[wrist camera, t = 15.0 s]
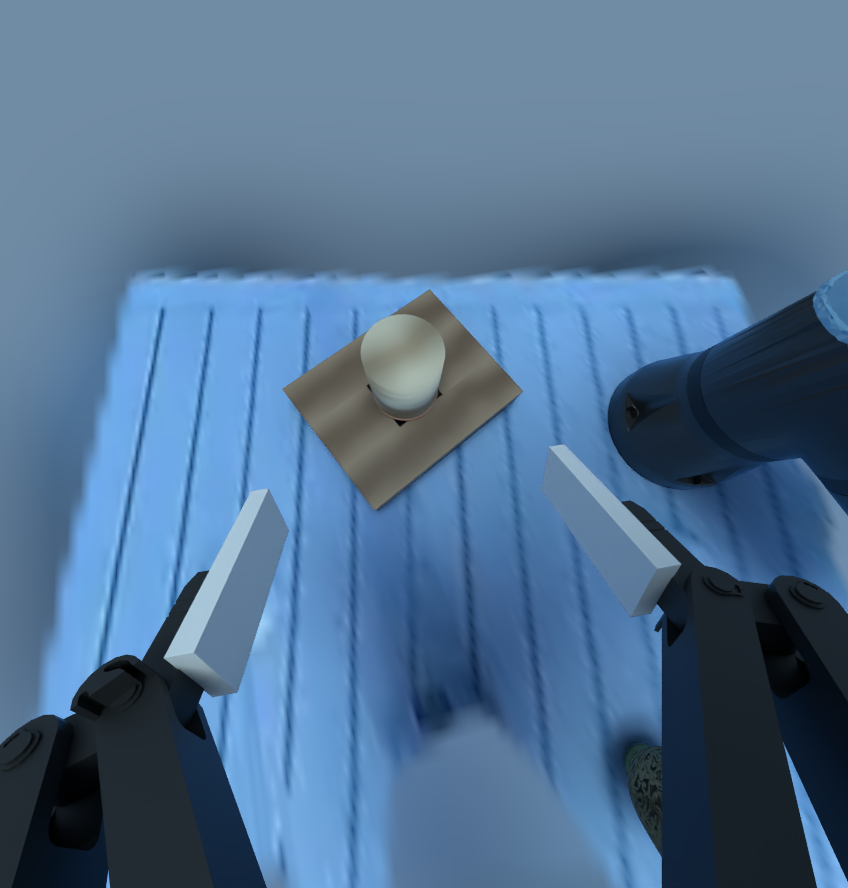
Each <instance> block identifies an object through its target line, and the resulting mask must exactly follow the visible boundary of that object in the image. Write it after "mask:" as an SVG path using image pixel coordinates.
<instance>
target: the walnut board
mask: <svg viewBox="0 0 848 888" xmlns="http://www.w3.org/2000/svg"><path fill="white" fill-rule="evenodd" d="M399 314H406V315H413V316H417V317H419V318H422V319H424V320H426V321H427V322H429V323H430V324H431V325H433V326H434V327H435V328H436V330H437V331H438V332H439V334H440V335H441V337H442V340H443V342H444V346H445V360H444V365H443V369H442V374H441V379H440V383H439V388H438V394H437V398H436V401H435V403H434V405H433V407H432V408H431V409H430V411H429V412H427V413H426V414H425V415H424V416H422V417H420V418H418V419H415V420H411V421H407V422H406V423H405V424H403V425H402V426H401V427H399V425H398V424H397V423H396V422H395V420H394V419H393V418H390V417H388V416H387V415H385V414H384V413H383V412H382V411H381V410H380V409H379V408H378V407H377V405H376V403H375V401H374V398H373V394H372V391H371V388H370V385H369V382H368V379H367V376H366V373H365V370H364V367H363V364H362V360H361V345H362V341H363V339H364V336H365V335H366V333H367V332H368V331H367V332H366V333H364V334H363V335H361V336H360V337H358V338H357V339H355V340H354V341H352V342H351V343H349V344H348V345H346V346H345V347H343V348H342V349H340V350H339V351H338V352H336V353H335V354H333V355H332V356H330V357H329V358H327V359H326V360H324V361H323V362H321V363H320V364H318V365H317V366H315V367H314V368H312V369H311V370H309V371H308V372H307V373H305V374H304V375H302V376H301V377H299V378H298V379H296V380H295V381H293V382H292V383H290V384H289V385H287V386H286V387H284V388H283V389H282V390H283V391H284V392H285V394H286V395H287V396H288V398H289V399H290V400H291V401H292V403H293V404H294V405H295V407H296V408H297V409H298V411H299V412H300V413H301V415H302V416H303V417H304V418H305V420H306V421H307V422H308V424H309V425H310V426H311V428H312V429H313V430H314V432H315V433H316V434H317V436H318V437H319V438H320V439H321V441H322V442H323V443H324V445H325V446H326V447H327V449H328V450H329V451H330V453H331V454H332V455H333V456H334V458H335V459H336V460H337V462H338V463H339V464H340V466H341V467H342V468H343V470H344V471H345V472H346V474H347V475H348V476H349V477H350V479H351V480H352V481H353V483H354V484H355V485H356V487H357V488H358V489H359V491H360V492H361V493H362V494H363V496H364V497H365V498H366V500H367V501H368V502H369V504H370V505H371V506H372V508H373V509H374V510H380V509H381V508H382V507H384V506H385V505H386V504H387V503H388V502H390V501H391V500H392V499H393V498H395V497H396V496H397V495H398V494H400V493H401V492H402V491H403V490H405V489H406V488H407V487H408V486H410V485H411V484H412V483H413V482H415V481H416V480H417V479H418V478H419V477H421V476H422V475H423V474H424V473H426V472H427V471H428V470H429V469H431V468H432V467H433V466H434V465H436V464H437V463H438V462H439V461H441V460H442V459H443V458H444V457H446V456H447V455H448V454H449V453H450V452H452V451H453V450H454V449H455V448H457V447H458V446H459V445H460V444H462V443H463V442H464V441H465V440H467V439H468V438H469V437H470V436H472V435H473V434H474V433H475V432H477V431H478V430H479V429H480V428H481V427H483V426H484V425H485V424H486V423H488V422H489V421H490V420H491V419H493V418H494V417H495V416H496V415H498V414H499V413H500V412H501V411H503V410H504V409H505V408H506V407H508V406H509V405H510V404H511V403H512V402H513V401H514V400H515V399H516V398H517V397H518V396H519V395H520V394H521V393H522V392H523V391H522V389H521V388H520V387H519V386H518V385H517V384H516V383H515V382H514V381H513V380H512V379H511V377H510V376H509V375H508V374H507V373H506V372H505V371H504V370H503V369H502V368H501V367H500V365H499V364H498V363H497V362H496V361H495V360H494V359H493V358H492V357H491V356H490V355H489V353H488V352H487V351H486V350H485V349H484V348H483V347H482V346H481V345H480V344H479V343H478V341H477V340H476V339H475V338H474V337H473V336H472V335H471V334H470V333H469V332H468V331H467V329H466V328H465V327H464V326H463V325H462V324H461V323H460V322H459V321H458V320H457V319H456V318H455V316H454V315H453V314H452V313H451V312H450V311H449V310H448V309H447V308H446V307H445V306H444V304H443V303H442V302H441V301H440V300H439V299H438V298H437V297H436V296H435V295H434V294H433V292H432V291H431V290H430V289H429V290H428V291H426V292H425V293H423V294H422V295H420V296H419V297H417V298H416V299H414V300H413V301H411V302H410V303H408V304H407V305H405V306H404V307H403V308H401V309H400V310H398V311H397V312H395V313H394V314H392V315H399ZM392 315H391V316H392Z"/></svg>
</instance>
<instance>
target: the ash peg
mask: <svg viewBox="0 0 848 888" xmlns="http://www.w3.org/2000/svg"><path fill="white" fill-rule="evenodd" d="M361 360H362V364H363V367H364V370H365V373H366V376H367V379H368V382H369V385H370V388H371V391H372V394H373V398H374V401H375V403H376V405H377V407H378V408H379V409H380V410H381V411H382V412H383V413H384V414H385V415H387V416H388V417H390V418H393V419H396V420H400V421H411V420H415V419H418V418H420V417H422V416H424V415H425V414H426V413H427V412H429V411H430V409H431V408H432V407H433V405H434V403H435V401H436V398H437V394H438V388H439V383H440V379H441V374H442V369H443V365H444V360H445V346H444V342H443V340H442V337H441V335H440V334H439V332H438V331H437V330H436V328H435V327H434V326H433V325H431V324H430V323H429V322H427V321H426V320H424V319H422V318H419V317H417V316H413V315H406V314H399V315H392V316H389V317H386V318H384V319H381V320H380V321H378V322H377V323H375V324H374V325H373V326H372V327H371V328H370V329H369V330H368V332H367V333H366V335H365V336H364V339H363V341H362V345H361Z"/></svg>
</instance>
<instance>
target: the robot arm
mask: <svg viewBox="0 0 848 888" xmlns="http://www.w3.org/2000/svg"><path fill="white" fill-rule="evenodd" d="M609 426H610V431H611V435H612V438H613V440H614V443H615V445H616V447H617V449H618V450H619V452H620V454H621V455H622V457H623V458H624V459H625V461H626V462H627V463H628V464H629V465H630V466H631V467H632V468H633V469H634V470H635V471H637V472H638V473H639V474H640V475H642V476H643V477H645V478H646V479H648V480H650V481H652V482H654V483H656V484H659V485H662V486H665V487H669V488H675V489H691V488H703V487H710V486H714V485H718V484H721V483H723V482H725V481H728V480H730V479H732V478H734V477H736V476H738V475H741V474H743V473H745V472H747V471H749V470H751V469H754V468H756V467H758V466H760V465H762V464H764V463H766V462H772V461H779V460H786V459H796V458H801V459H803V461H804V462H805V463H806V464H807V465H808V466H809V468H810V469H811V470H812V471H813V472H814V474H815V475H816V476H817V477H818V478H819V480H820V481H821V482H822V483H823V485H824V486H825V487H826V489H827V490H828V491H829V493H830V494H831V495H832V496H833V498H834V499H835V500H836V501H837V503H838V504H839V505H840V506H841V508H842V509H843V510H844V511H845V513H846V514H847V515H848V270H847V271H845V272H842V273H840V274H838V275H836V276H834V277H833V278H831V279H829V280H828V281H826V282H825V283H823V284H822V285H821V286H820V287H819V288H818V290H817V291H815V292H814V293H812V294H810V295H809V296H806V297H804V298H802V299H801V300H799V301H797V302H795V303H793V304H791V305H789V306H787V307H785V308H784V309H782V310H780V311H778V312H776V313H774V314H772V315H770V316H768V317H767V318H765V319H763V320H761V321H759V322H757V323H755V324H753V325H752V326H750V327H748V328H746V329H744V330H742V331H740V332H738V333H737V334H735V335H733V336H731V337H729V338H727V339H725V340H723V341H722V342H720V343H718V344H716V345H715V346H713V347H711V348H709V349H707V350H705V351H701V352H697V353H692V354H688V355H683V356H679V357H674V358H669V359H665V360H660V361H656V362H654V363H651V364H649V365H646V366H644V367H643V368H641V369H639V370H638V371H636V372H634V373H633V374H631V375H630V376H628V377H627V378H626V379H624V380H623V381H622V382H621V383H620V385H619V386H618V387H617V389H616V390H615V392H614V394H613V396H612V399H611V402H610V407H609ZM542 491H543V493H544V494H545V496H546V497H547V499H548V500H549V501H550V503H551V504H552V506H553V507H554V509H555V510H556V512H557V513H558V514H559V516H560V517H561V519H562V520H563V522H564V523H565V524H566V526H567V527H568V529H569V530H570V532H571V533H572V535H573V536H574V537H575V539H576V540H577V542H578V543H579V545H580V546H581V548H582V549H583V550H584V552H585V553H586V555H587V556H588V558H589V559H590V561H591V562H592V563H593V565H594V566H595V568H596V569H597V571H598V572H599V573H600V575H601V576H602V578H603V579H604V581H605V582H606V584H607V585H608V586H609V588H610V589H611V591H612V592H613V594H614V595H615V597H616V598H617V599H618V601H619V602H620V604H621V605H622V607H623V608H624V610H625V611H626V612H627V614H628V615H629V617H635V616H640V615H645V614H651V612H652V611H653V609H654V608H655V606H656V604H658V606H659V607H660V608H661V609H662V611H663V612H664V614H663V615H662V617H661V618H660V620H659V621H658V623H657V624H656V627H655V630H654V631H657V632H659V630H660V629H661V628H662V888H817V885H816V881H815V877H814V873H813V868H812V864H811V860H810V855H809V851H808V847H807V843H806V838H805V834H804V830H803V825H802V821H801V817H800V813H799V808H798V804H797V800H796V795H795V791H794V787H793V783H792V778H791V774H790V770H789V765H788V761H787V757H786V752H785V748H784V745H785V747H786V749H787V751H788V753H789V755H790V758H791V760H792V762H793V764H794V766H795V768H796V771H797V773H798V775H799V777H800V779H801V781H802V784H803V786H804V788H805V790H806V792H807V794H808V797H809V799H810V801H811V803H812V805H813V807H814V810H815V812H816V814H817V816H818V818H819V820H820V823H821V825H822V827H823V829H824V831H825V833H826V836H827V838H828V840H829V842H830V844H831V846H832V849H833V851H834V853H835V855H836V857H837V859H838V862H839V864H840V866H841V868H842V870H843V872H844V875H845V877H846V879H847V881H848V614H847V613H846V611H845V610H844V609H843V608H842V606H841V605H840V604H839V603H838V602H837V601H836V600H835V599H834V598H833V597H832V596H831V595H830V594H829V593H828V592H826V591H825V590H823V589H822V588H820V587H819V586H817V585H815V584H813V583H811V582H809V581H807V580H804V579H801V578H798V577H794V576H784V575H782V576H779V577H777V578H775V579H774V580H773V581H772V582H771V584H770V585H767V584H759V583H751V582H743V581H738V580H737V579H735V578H734V577H732V576H731V575H729V574H728V573H726V572H724V571H721V570H719V569H717V568H713V567H708V566H704V565H703V564H702V563H701V562H699V561H698V560H697V559H696V558H695V557H694V556H693V555H692V554H691V553H690V552H689V551H688V550H687V549H686V548H685V547H684V546H683V545H682V544H681V543H680V542H679V541H678V540H677V539H675V538H674V537H673V536H672V535H671V534H670V533H669V532H668V531H667V530H665V529H664V527H663V526H662V525H661V524H660V523H659V522H658V521H657V522H656V520H655V518H654V517H653V516H651V515H650V514H649V513H648V512H647V511H646V510H645V509H644V508H642V507H640V506H639V505H637V504H635V503H634V502H632V501H624V502H620V501H619V500H618V499H617V498H616V497H615V496H614V495H613V494H612V493H611V492H610V491H609V490H608V489H607V488H606V487H605V486H604V485H603V484H602V482H601V481H600V480H599V479H598V478H597V477H596V476H595V475H594V474H593V473H592V472H591V471H590V470H589V469H588V468H587V467H586V466H585V465H584V464H583V463H582V462H581V461H580V460H579V459H578V458H577V457H576V456H575V455H574V454H573V453H572V452H571V451H570V450H569V449H568V448H567V447H566V446H565V445H564V444H563V445H556V446H550V447H549V449H548V455H547V460H546V466H545V472H544V478H543V484H542ZM288 531H289V529H288V527H287V525H286V523H285V521H284V519H283V517H282V515H281V513H280V511H279V509H278V507H277V505H276V503H275V501H274V498H273V496H272V494H271V492H270V490H269V489H262V490H255V491H251V492H250V494H249V496H248V498H247V500H246V502H245V504H244V506H243V508H242V510H241V511H240V513H239V515H238V517H237V519H236V521H235V523H234V525H233V527H232V529H231V531H230V532H229V534H228V536H227V538H226V540H225V542H224V544H223V546H222V548H221V550H220V552H219V553H218V555H217V557H216V559H215V561H214V563H213V565H212V567H211V569H210V570H209V571H203V572H198V573H197V574H196V575H195V576H194V577H193V578H192V579H191V580H190V581H189V582H188V583H187V585H186V586H185V587H184V588H183V590H182V592H181V594H180V595H179V597H178V599H177V601H176V604H174V606H173V608H172V609H171V611H170V613H169V617H167V618H166V620H165V622H164V623H163V625H162V627H161V629H160V630H159V632H158V634H157V636H156V637H155V639H154V641H153V643H152V644H151V646H150V648H149V649H148V651H147V653H146V655H145V656H144V658H143V660H142V661H141V660H139V659H138V658H137V657H135V656H132V655H123V656H120V657H116V658H114V659H112V660H111V661H109V662H107V663H105V664H103V665H102V666H101V667H100V668H98V669H97V670H96V671H95V672H94V673H92V674H91V675H90V676H89V677H88V678H87V680H86V681H85V682H84V683H83V684H82V685H81V686H80V688H79V689H78V691H77V693H76V694H75V696H74V698H73V700H72V704H71V709H70V710H71V711H73V712H75V714H73V715H71V716H69V717H67V718H65V719H62V718H59V717H57V716H55V715H43V716H40V717H38V718H36V719H33V720H31V721H29V722H28V723H26V724H25V725H23V726H22V727H20V728H19V729H17V730H16V731H15V732H14V733H13V734H12V735H11V736H10V737H8V738H7V739H6V740H5V741H4V742H3V743H2V744H1V745H0V888H106V883H107V876H108V870H109V880H110V888H267V887H266V884H265V881H264V879H263V876H262V873H261V870H260V867H259V865H258V862H257V859H256V856H255V853H254V851H253V848H252V845H251V842H250V839H249V837H248V834H247V831H246V828H245V825H244V823H243V820H242V817H241V814H240V812H239V809H238V806H237V803H236V800H235V798H234V795H233V792H232V789H231V786H230V784H229V781H228V778H227V775H226V772H225V770H224V767H223V764H222V761H221V758H220V756H219V753H218V750H217V747H216V745H215V742H214V739H213V736H212V733H211V731H210V728H209V725H208V722H207V719H206V717H205V714H204V711H203V708H202V707H201V706H200V704H199V701H200V698H201V695H202V693H203V690H204V691H205V692H207V693H208V694H209V695H210V696H212V697H216V696H221V695H227V694H232V693H237V692H238V690H239V686H240V683H241V680H242V677H243V674H244V671H245V667H246V664H247V661H248V658H249V655H250V652H251V648H252V645H253V642H254V639H255V636H256V633H257V629H258V626H259V623H260V620H261V617H262V614H263V610H264V607H265V604H266V601H267V598H268V595H269V591H270V588H271V585H272V582H273V579H274V576H275V572H276V569H277V566H278V563H279V560H280V557H281V553H282V550H283V547H284V544H285V541H286V538H287V534H288ZM783 742H784V744H783Z"/></svg>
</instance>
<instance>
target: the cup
mask: <svg viewBox="0 0 848 888" xmlns="http://www.w3.org/2000/svg"><path fill="white" fill-rule="evenodd" d="M623 765H624V769H625V772H626V775H627V777H628V787H629V792H630V796H631V800H632V803H633V806H634V808H635V810H636V812H637V815H638V817H639V819H640V821H641V822H642V824H643V826H644V828H645V830H646V831H647V833H648V835H649V837H650V838H651V840H652V842H653V843H654V845H655V847H656V848H657V850H658V852H659V853H660V855H661V857H662V747H661V746H649V745H647V744H644V743H640V742H636V743H632V744H631V745H629V746H628V747H627V749H626V750H625V752H624V756H623Z"/></svg>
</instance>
